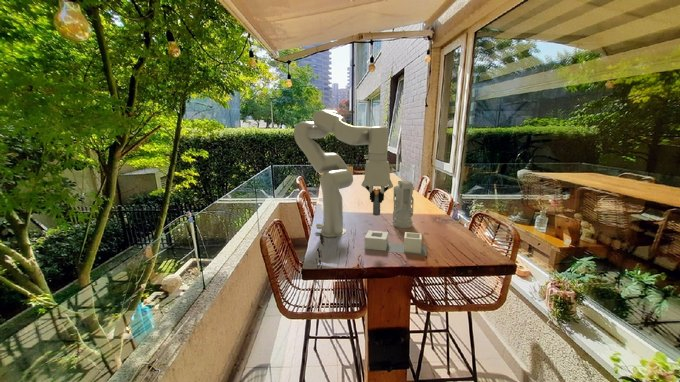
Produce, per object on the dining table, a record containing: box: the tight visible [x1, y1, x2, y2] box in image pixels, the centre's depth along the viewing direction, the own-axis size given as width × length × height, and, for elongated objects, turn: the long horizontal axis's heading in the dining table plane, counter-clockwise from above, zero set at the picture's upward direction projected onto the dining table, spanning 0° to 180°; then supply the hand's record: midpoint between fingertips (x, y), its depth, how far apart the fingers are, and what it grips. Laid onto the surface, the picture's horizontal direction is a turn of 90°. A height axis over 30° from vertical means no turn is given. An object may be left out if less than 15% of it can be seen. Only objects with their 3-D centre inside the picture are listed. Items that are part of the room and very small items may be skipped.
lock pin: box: [372, 187, 381, 217], centre depth 112 cm, size 3×3×11 cm
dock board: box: [361, 229, 427, 259], centre depth 113 cm, size 26×10×7 cm, turn 74°
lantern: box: [392, 180, 415, 229], centre depth 140 cm, size 13×10×25 cm
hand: (376, 201), depth 112 cm, fingers closed on lock pin, 3 cm apart
